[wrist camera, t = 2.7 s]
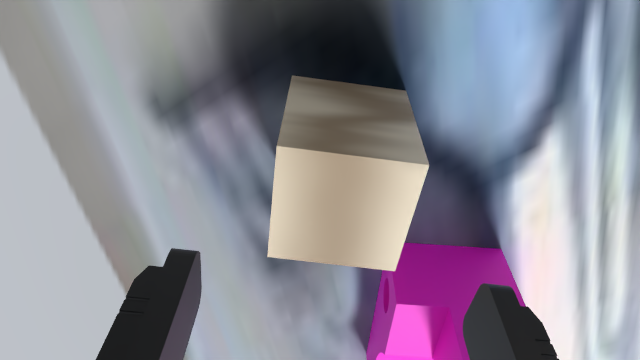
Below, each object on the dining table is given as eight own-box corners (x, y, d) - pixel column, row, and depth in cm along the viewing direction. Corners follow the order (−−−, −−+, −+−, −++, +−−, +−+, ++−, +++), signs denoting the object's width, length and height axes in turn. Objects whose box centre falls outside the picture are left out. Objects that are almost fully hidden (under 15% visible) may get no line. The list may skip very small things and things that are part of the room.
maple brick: (405, 90, 19) (429, 165, 14) (382, 182, 22) (394, 271, 17) (292, 75, 19) (276, 146, 14) (282, 170, 22) (267, 256, 17)
